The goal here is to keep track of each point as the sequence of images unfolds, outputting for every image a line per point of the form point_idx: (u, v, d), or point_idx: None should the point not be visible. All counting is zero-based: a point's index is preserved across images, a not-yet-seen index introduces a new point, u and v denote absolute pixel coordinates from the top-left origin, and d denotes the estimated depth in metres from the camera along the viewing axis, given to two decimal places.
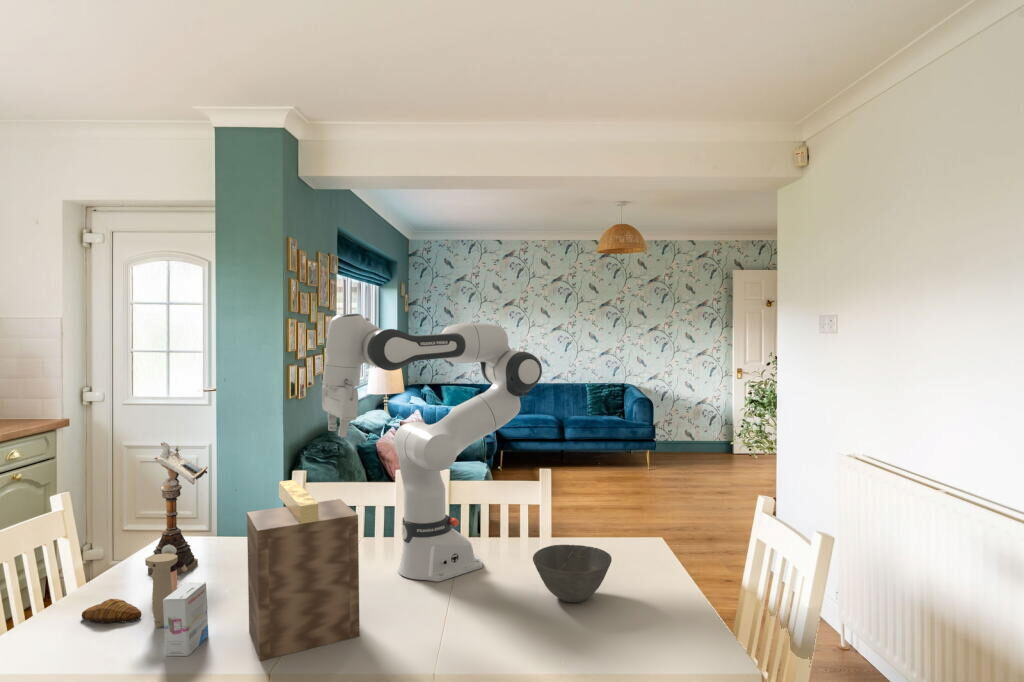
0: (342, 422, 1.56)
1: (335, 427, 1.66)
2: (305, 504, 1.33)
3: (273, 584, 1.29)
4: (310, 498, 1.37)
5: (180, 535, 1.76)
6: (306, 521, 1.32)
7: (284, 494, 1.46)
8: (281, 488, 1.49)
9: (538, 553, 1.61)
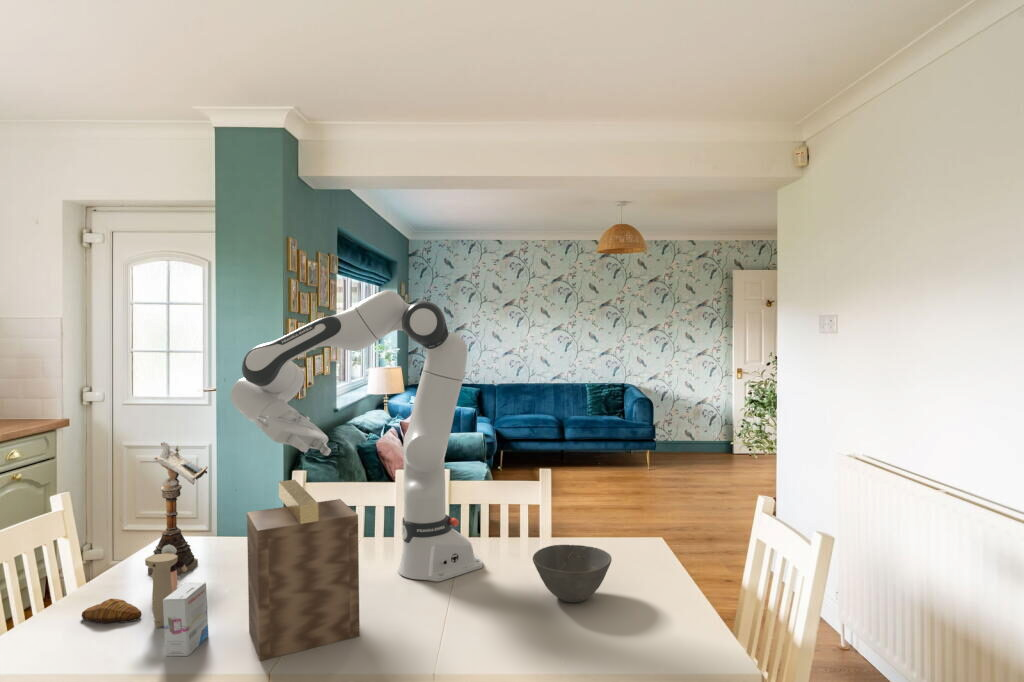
0: (290, 443, 1.54)
1: (325, 448, 1.63)
2: (305, 504, 1.33)
3: (273, 584, 1.29)
4: (310, 498, 1.37)
5: (180, 535, 1.76)
6: (306, 521, 1.32)
7: (284, 494, 1.46)
8: (281, 488, 1.49)
9: (538, 553, 1.61)
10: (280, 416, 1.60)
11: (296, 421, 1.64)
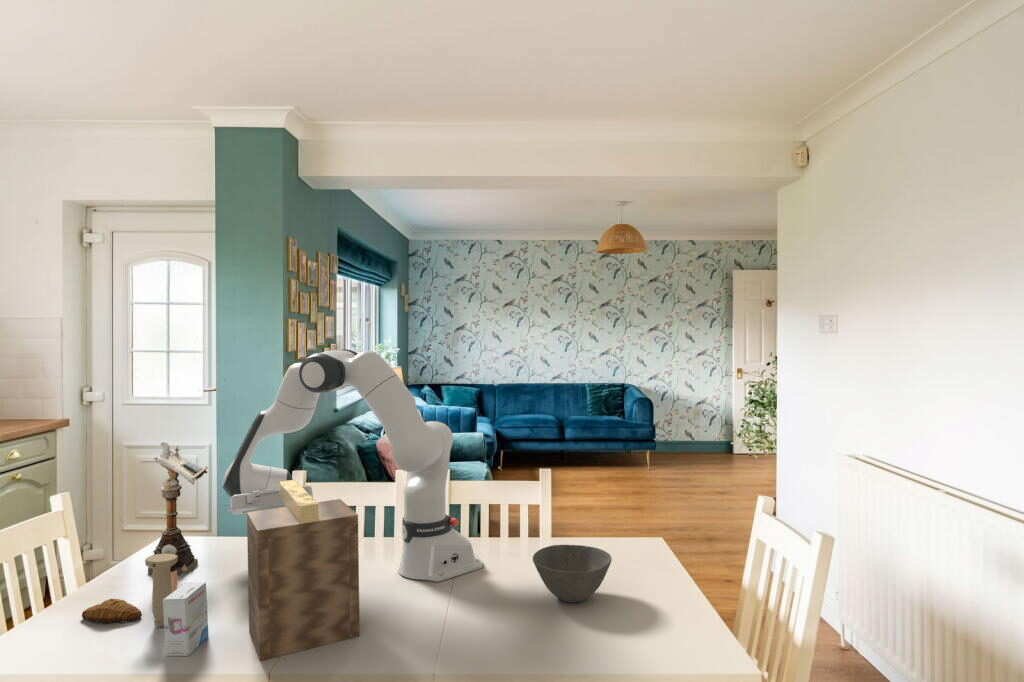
0: (247, 501, 1.64)
1: None
2: (305, 504, 1.33)
3: (273, 584, 1.29)
4: (310, 498, 1.37)
5: (180, 535, 1.76)
6: (306, 521, 1.32)
7: (284, 494, 1.46)
8: (281, 488, 1.49)
9: (538, 553, 1.61)
10: None
11: None
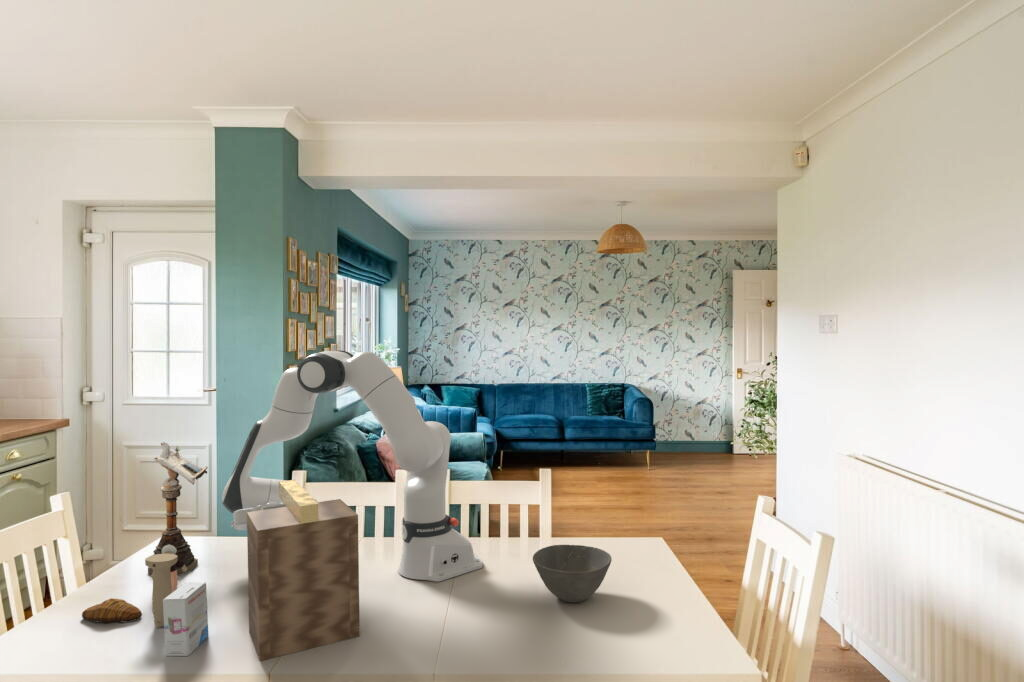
0: None
1: None
2: (305, 504, 1.33)
3: (273, 584, 1.29)
4: (310, 498, 1.37)
5: (180, 535, 1.76)
6: (306, 521, 1.32)
7: (284, 494, 1.46)
8: (281, 488, 1.49)
9: (538, 553, 1.61)
10: None
11: None
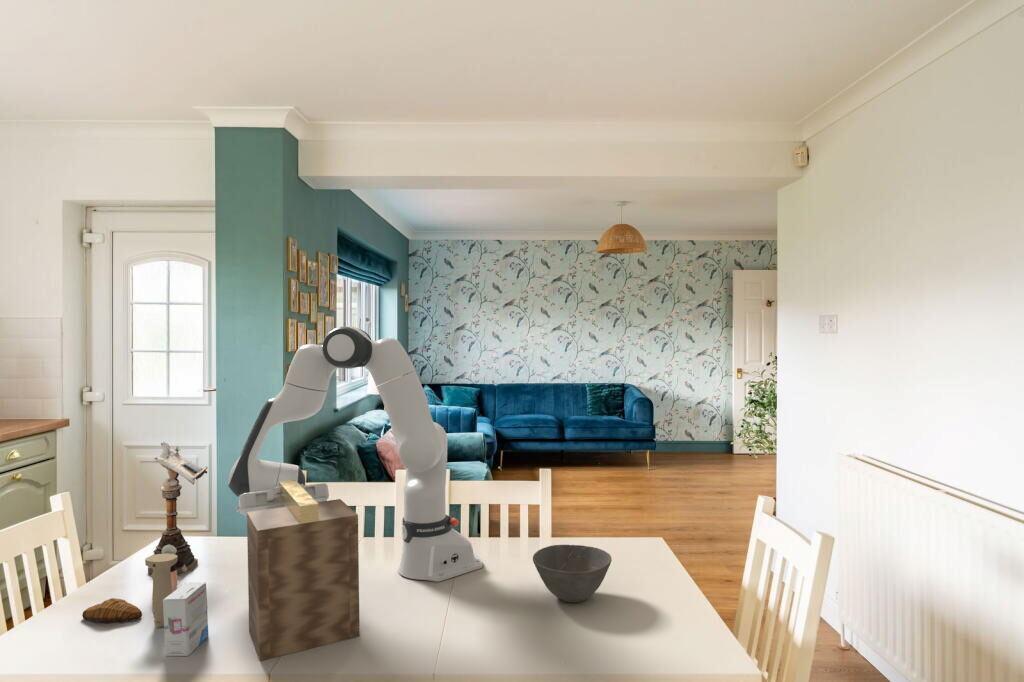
0: (267, 499, 1.50)
1: None
2: (305, 504, 1.33)
3: (273, 584, 1.29)
4: (310, 498, 1.37)
5: (180, 535, 1.76)
6: (306, 521, 1.32)
7: (284, 494, 1.46)
8: (281, 488, 1.49)
9: (538, 553, 1.61)
10: None
11: None
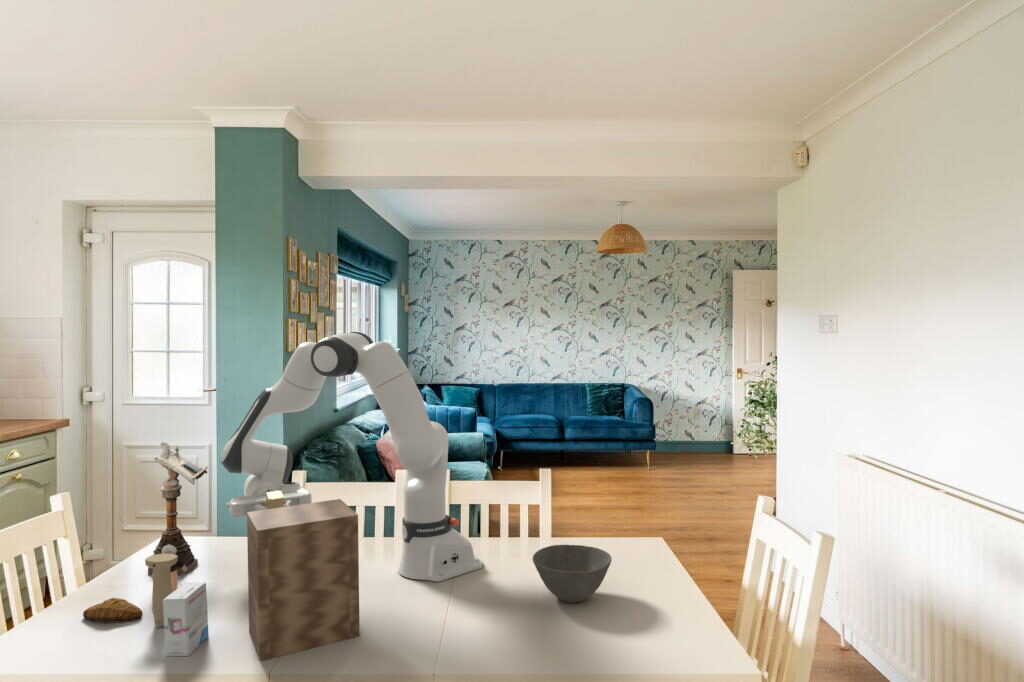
0: None
1: None
2: None
3: (273, 584, 1.29)
4: None
5: (180, 535, 1.76)
6: None
7: None
8: None
9: (538, 553, 1.61)
10: (254, 493, 1.74)
11: (272, 491, 1.74)
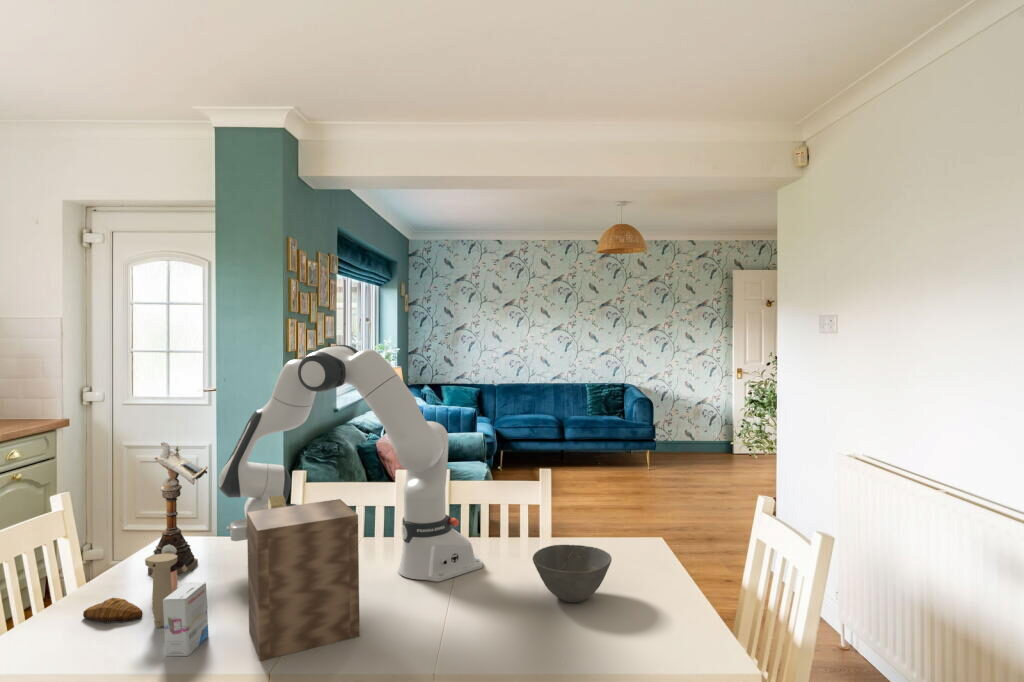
0: None
1: None
2: None
3: (273, 584, 1.29)
4: None
5: (180, 535, 1.76)
6: None
7: None
8: None
9: (538, 553, 1.61)
10: None
11: None
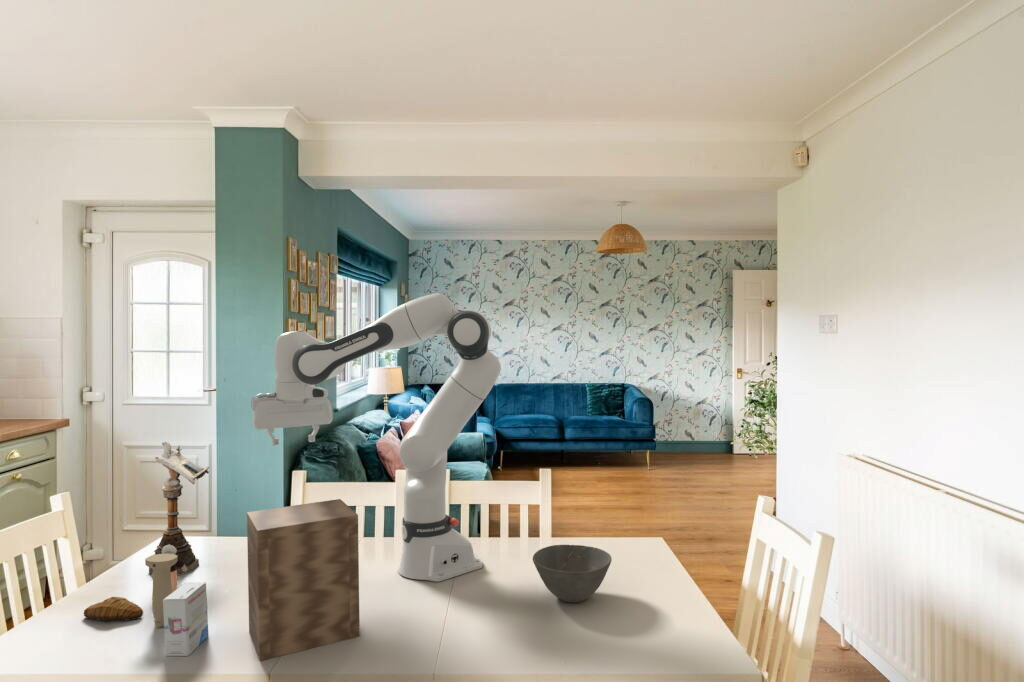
0: (267, 431, 1.71)
1: (309, 438, 1.76)
2: None
3: (273, 584, 1.29)
4: None
5: (181, 535, 1.76)
6: None
7: None
8: None
9: (538, 553, 1.61)
10: (280, 399, 1.70)
11: (298, 404, 1.72)
